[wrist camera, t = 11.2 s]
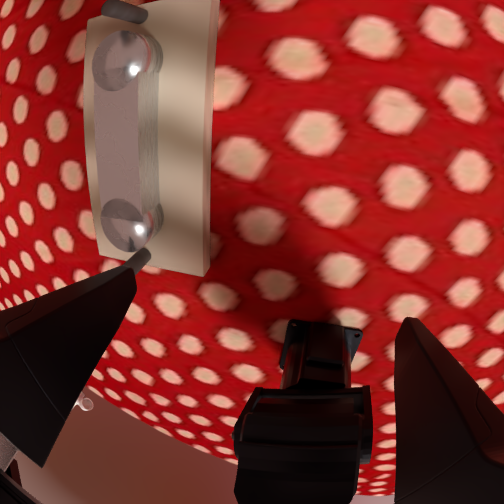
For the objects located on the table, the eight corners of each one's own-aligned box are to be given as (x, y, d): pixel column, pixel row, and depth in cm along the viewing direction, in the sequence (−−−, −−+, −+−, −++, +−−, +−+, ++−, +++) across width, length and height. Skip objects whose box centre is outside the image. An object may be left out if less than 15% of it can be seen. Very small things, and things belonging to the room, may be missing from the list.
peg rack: (210, 266, 24) (185, 304, 20) (109, 247, 25) (75, 275, 21) (220, -1, 14) (188, -26, 10) (99, 21, 16) (55, 15, 11)
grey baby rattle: (165, 241, 22) (149, 256, 20) (122, 233, 22) (105, 247, 20) (165, 31, 14) (145, 25, 12) (115, 40, 15) (93, 37, 13)
